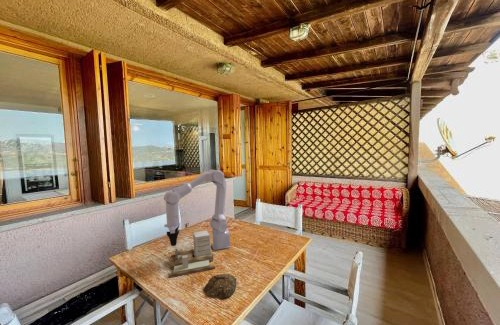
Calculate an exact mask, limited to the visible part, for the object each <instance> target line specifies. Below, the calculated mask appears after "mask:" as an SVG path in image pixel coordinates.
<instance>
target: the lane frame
mask: <svg viewBox="0 0 500 325" xmlns="http://www.w3.org/2000/svg"><path fill="white" fill-rule="evenodd" d="M171 257H172V258H175V254H170V258H171ZM207 260H209V263H212V262H213V261H214V258H213V259H207ZM202 261H206V260H202ZM196 262H200V261H196ZM190 263H195V262H190ZM188 264H189V263H188ZM179 265H183V264H179ZM174 266H178V265H175V264H174V265H170V266H169V270H174ZM215 268H216V266H215V265H210V267H205V268H199V269H194V270H189V271H184V272H178V273H174V272H173V273H169V274H168V278H175V277H179V276H184V275H189V274H194V273H201V272H206V271H210V270H215Z"/></svg>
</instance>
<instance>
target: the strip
mask: <svg viewBox="0 0 500 325" xmlns="http://www.w3.org/2000/svg"><path fill="white" fill-rule="evenodd" d="M182 264H183V265H178V266H174V265H173V266H174V269H173V273H178V272H184V271H189V270H194V269H199V268H205V267H210V266H211V262H209V260H206V261H200V262H195V263H189V264H188V255H183V256H182Z"/></svg>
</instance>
